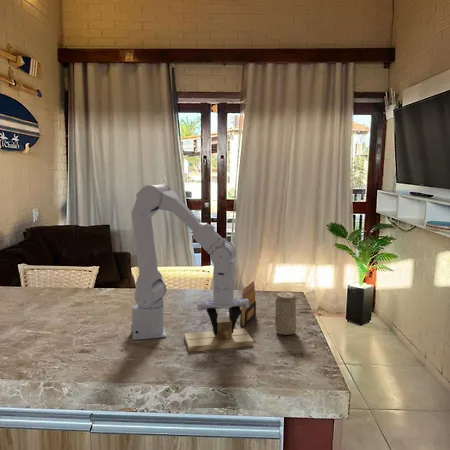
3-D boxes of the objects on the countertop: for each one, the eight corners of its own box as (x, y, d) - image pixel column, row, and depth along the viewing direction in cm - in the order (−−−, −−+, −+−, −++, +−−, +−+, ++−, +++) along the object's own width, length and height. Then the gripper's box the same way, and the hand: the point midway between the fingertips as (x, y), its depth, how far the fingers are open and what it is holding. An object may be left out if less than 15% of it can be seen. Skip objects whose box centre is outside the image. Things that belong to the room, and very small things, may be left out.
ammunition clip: (245, 327, 131) (246, 289, 129) (239, 326, 131) (240, 288, 130) (255, 315, 141) (256, 280, 139) (250, 314, 141) (251, 279, 140)
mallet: (221, 347, 112) (221, 330, 112) (214, 333, 121) (214, 317, 120) (236, 346, 113) (236, 329, 113) (228, 332, 122) (228, 316, 121)
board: (188, 351, 113) (188, 346, 113) (184, 338, 122) (184, 333, 122) (253, 345, 117) (253, 340, 117) (244, 333, 126) (244, 328, 126)
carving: (291, 327, 130) (292, 290, 129) (299, 337, 123) (301, 298, 121) (271, 328, 129) (272, 291, 128) (278, 338, 122) (279, 298, 120)
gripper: (200, 292, 112) (200, 340, 114) (252, 288, 115) (251, 336, 117) (195, 284, 119) (196, 330, 121) (245, 281, 122) (244, 326, 124)
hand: (223, 332), depth 120 cm, fingers closed on mallet, 4 cm apart
